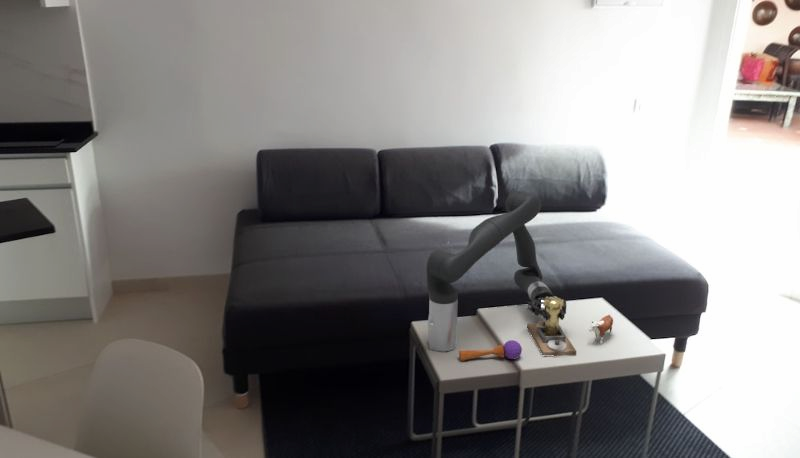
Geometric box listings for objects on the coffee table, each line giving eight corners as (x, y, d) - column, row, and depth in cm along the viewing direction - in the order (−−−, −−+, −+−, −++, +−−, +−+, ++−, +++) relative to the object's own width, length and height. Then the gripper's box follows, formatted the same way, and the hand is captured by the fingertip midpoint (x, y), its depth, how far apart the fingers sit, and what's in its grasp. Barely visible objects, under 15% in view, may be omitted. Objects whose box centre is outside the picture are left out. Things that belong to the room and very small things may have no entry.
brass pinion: (544, 337, 209) (546, 304, 206) (539, 328, 215) (541, 296, 211) (563, 336, 210) (566, 303, 206) (557, 327, 216) (560, 296, 212)
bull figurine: (584, 344, 211) (587, 322, 209) (604, 330, 220) (606, 309, 218) (596, 348, 208) (599, 326, 206) (615, 334, 217) (618, 313, 215)
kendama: (458, 343, 204) (518, 336, 205) (459, 361, 205) (519, 354, 206) (461, 349, 198) (523, 342, 199) (462, 367, 199) (524, 360, 200)
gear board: (542, 356, 204) (543, 346, 202) (526, 327, 222) (527, 318, 221) (576, 355, 204) (577, 345, 203) (557, 326, 223) (557, 317, 222)
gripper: (521, 286, 222) (534, 308, 206) (561, 285, 223) (577, 306, 207) (520, 305, 224) (533, 328, 208) (559, 304, 225) (575, 326, 209)
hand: (555, 317), depth 208 cm, fingers closed on brass pinion, 4 cm apart
